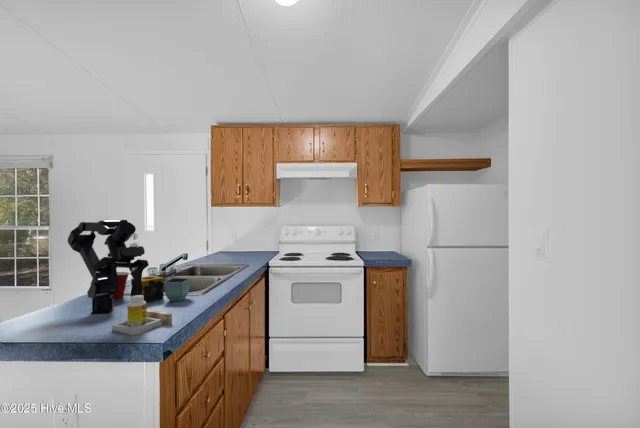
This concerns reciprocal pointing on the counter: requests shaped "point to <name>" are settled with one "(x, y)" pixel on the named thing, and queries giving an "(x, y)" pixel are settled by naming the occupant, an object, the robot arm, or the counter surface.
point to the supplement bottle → (136, 311)
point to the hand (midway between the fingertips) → (129, 285)
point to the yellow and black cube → (149, 288)
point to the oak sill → (160, 316)
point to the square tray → (124, 328)
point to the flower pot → (177, 288)
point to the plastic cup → (121, 285)
